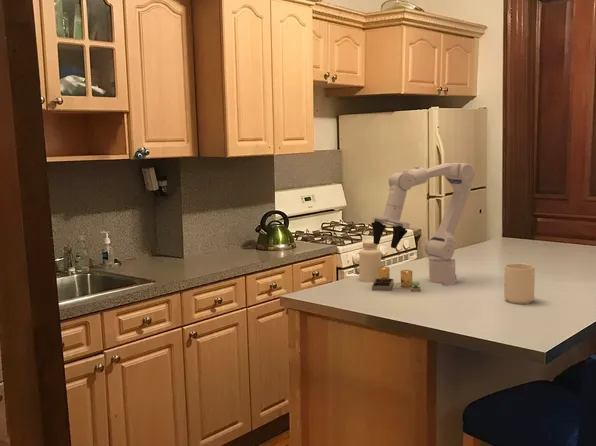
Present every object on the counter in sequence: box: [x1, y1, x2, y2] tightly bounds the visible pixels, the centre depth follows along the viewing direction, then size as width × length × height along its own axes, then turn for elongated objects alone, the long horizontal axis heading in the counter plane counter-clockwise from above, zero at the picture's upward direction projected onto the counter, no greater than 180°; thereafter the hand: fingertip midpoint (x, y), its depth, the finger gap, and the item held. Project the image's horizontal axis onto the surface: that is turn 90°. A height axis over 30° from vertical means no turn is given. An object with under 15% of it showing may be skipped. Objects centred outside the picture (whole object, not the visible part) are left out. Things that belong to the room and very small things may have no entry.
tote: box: [393, 282, 420, 290], centre depth 221 cm, size 8×8×1 cm
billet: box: [400, 269, 413, 288], centre depth 221 cm, size 4×4×6 cm
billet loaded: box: [378, 266, 391, 282], centre depth 224 cm, size 4×4×6 cm
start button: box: [412, 281, 420, 288], centre depth 214 cm, size 2×2×3 cm
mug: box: [503, 263, 536, 305], centre depth 201 cm, size 12×9×11 cm
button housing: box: [410, 286, 422, 293], centre depth 214 cm, size 3×3×2 cm
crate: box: [371, 278, 395, 292], centre depth 222 cm, size 7×12×2 cm, turn 167°
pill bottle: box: [358, 240, 382, 283], centre depth 233 cm, size 8×8×15 cm
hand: (384, 246), depth 216 cm, fingers open, 7 cm apart
